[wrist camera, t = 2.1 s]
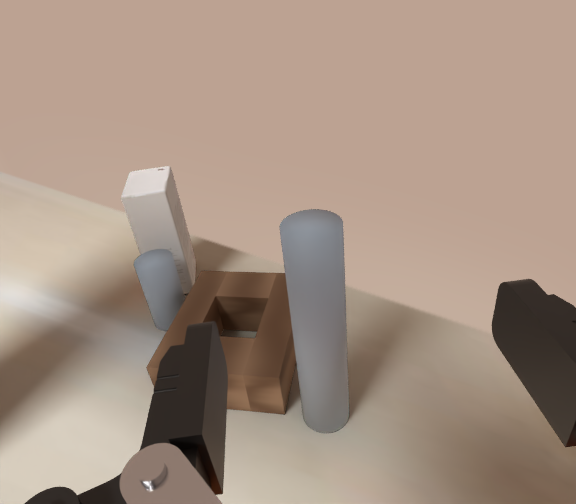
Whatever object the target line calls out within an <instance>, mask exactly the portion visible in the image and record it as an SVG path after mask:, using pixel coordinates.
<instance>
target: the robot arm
mask: <svg viewBox="0 0 576 504" xmlns="http://www.w3.org/2000/svg"><path fill="white" fill-rule="evenodd" d="M492 333H493V337H494V340H495V342H496V344H497V346H498V348H499V349H500V351H501V352H502V354H503V355H504V356H505V358H506V359H507V361H508V362H509V364H510V365H511V367H512V368H513V370H514V371H515V373H516V374H517V376H518V377H519V379H520V380H521V382H522V383H523V385H524V386H525V388H526V389H527V391H528V392H529V394H530V395H531V397H532V398H533V400H534V401H535V403H536V404H537V406H538V407H539V409H540V410H541V412H542V413H543V415H544V416H545V418H546V419H547V421H548V422H549V424H550V425H551V427H552V428H553V429H554V431H555V432H556V434H557V435H558V437H559V438H560V440H561V441H562V443H563V444H564V446H565V447H570V446H576V308H575V307H574V306H573V305H572V304H570V303H568V302H566V301H564V300H563V299H561V298H559V297H558V296H556V295H554V294H553V295H547V294H546V293H545V292H544V291H543V290H542V289H541V288H540V286H539V285H538V284H537V283H536V282H535V281H533V280H532V279H526V280H517V281H510V282H503V283H501V284H500V286H499V289H498V294H497V299H496V305H495V310H494V315H493V320H492ZM227 390H228V372H227V364H226V359H225V355H224V351H223V347H222V344H221V340H220V336H219V332H218V328H217V325H216V323H215V321H212V322H205V323H198V324H190V325H188V326H187V330H186V336H185V341H184V344H182V345H175V346H170V348H169V349H168V351H167V352H166V354H165V355H164V356H163V358H162V359H161V361H160V364H159V368H158V373H157V381H156V382H155V386H154V394H153V395H152V400H151V405H150V409H149V414H148V418H147V423H146V427H145V432H144V436H143V441H142V445H141V448H140V450H139V452H137V453H136V454H135V455H134V456H133V457H132V458H131V459H130V460H129V461H128V463H127V464H126V466H125V467H124V469H123V471H122V473H121V474H120V475H118V476H117V477H115V478H114V479H112V480H110V481H108V482H106V483H104V484H101V485H99V486H97V487H95V488H93V489H90V490H88V491H86V492H84V493H81V494H79V495H76V493H75V492H74V491H73V490H71V489H69V488H66V487H53V488H50V489H47V490H44V491H42V492H40V493H38V494H36V495H35V496H33V497H32V498H31V499H29V500H28V501H27V502H26V503H25V504H222V503H221V501H220V500H219V499H218V498H217V496H216V495H218V494H223V479H224V457H225V435H226V412H227Z"/></svg>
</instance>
